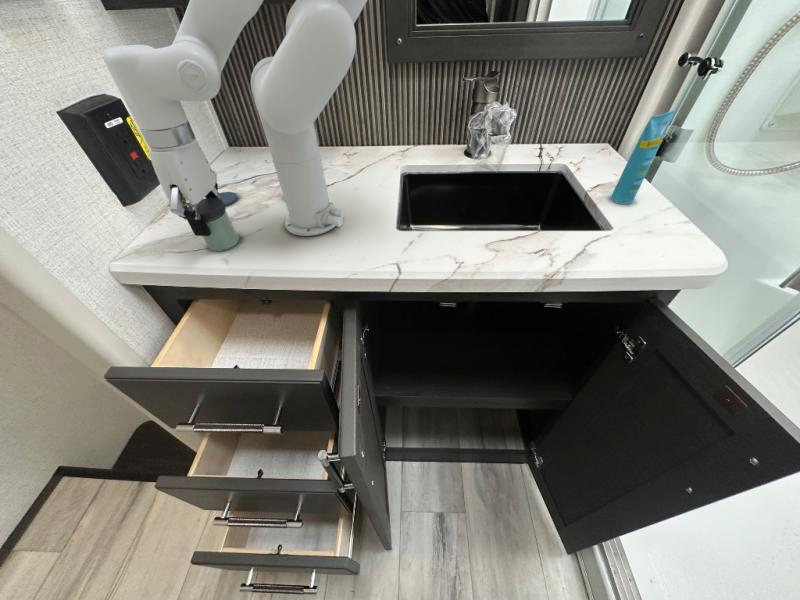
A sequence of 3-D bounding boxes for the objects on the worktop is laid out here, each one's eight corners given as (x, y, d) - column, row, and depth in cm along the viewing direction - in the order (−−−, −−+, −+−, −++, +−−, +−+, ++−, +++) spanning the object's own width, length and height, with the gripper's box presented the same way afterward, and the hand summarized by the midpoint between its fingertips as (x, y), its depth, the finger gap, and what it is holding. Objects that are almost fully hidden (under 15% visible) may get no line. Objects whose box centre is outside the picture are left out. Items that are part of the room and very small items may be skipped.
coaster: (244, 197, 88) (243, 194, 88) (221, 210, 83) (220, 208, 83) (223, 191, 91) (223, 189, 90) (201, 204, 86) (200, 202, 86)
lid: (190, 225, 64) (186, 218, 63) (189, 209, 69) (186, 202, 68) (227, 215, 66) (224, 208, 65) (224, 200, 71) (221, 194, 70)
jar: (245, 237, 74) (229, 203, 68) (224, 253, 70) (206, 219, 64) (223, 232, 76) (207, 199, 70) (202, 247, 72) (182, 214, 66)
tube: (622, 208, 78) (665, 119, 64) (603, 200, 81) (641, 113, 67) (639, 199, 80) (685, 111, 67) (620, 191, 83) (660, 106, 70)
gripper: (174, 120, 64) (212, 205, 76) (115, 154, 51) (172, 249, 63) (212, 120, 63) (244, 205, 76) (162, 154, 51) (210, 249, 63)
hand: (211, 224), depth 69 cm, fingers closed on lid, 6 cm apart
